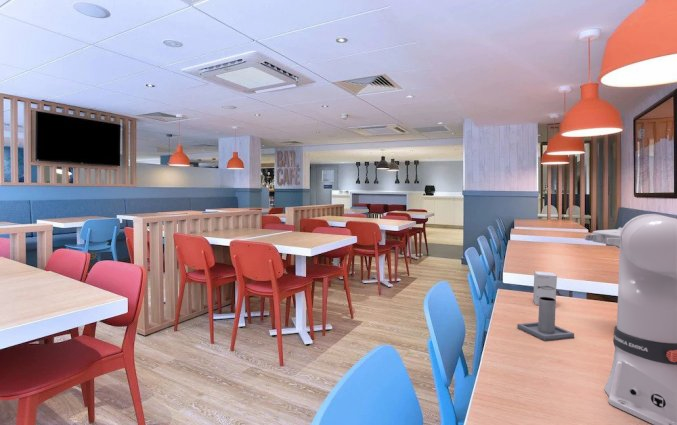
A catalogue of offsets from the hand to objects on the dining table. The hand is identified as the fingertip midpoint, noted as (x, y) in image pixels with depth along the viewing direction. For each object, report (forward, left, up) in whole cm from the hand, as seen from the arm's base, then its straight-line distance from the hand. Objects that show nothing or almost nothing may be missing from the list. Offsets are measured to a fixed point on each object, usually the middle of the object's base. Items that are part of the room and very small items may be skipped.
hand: (595, 239), depth 113 cm
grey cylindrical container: (+5, +13, -30) cm, 32 cm away
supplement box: (+32, -13, -30) cm, 46 cm away
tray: (+5, +13, -30) cm, 33 cm away
